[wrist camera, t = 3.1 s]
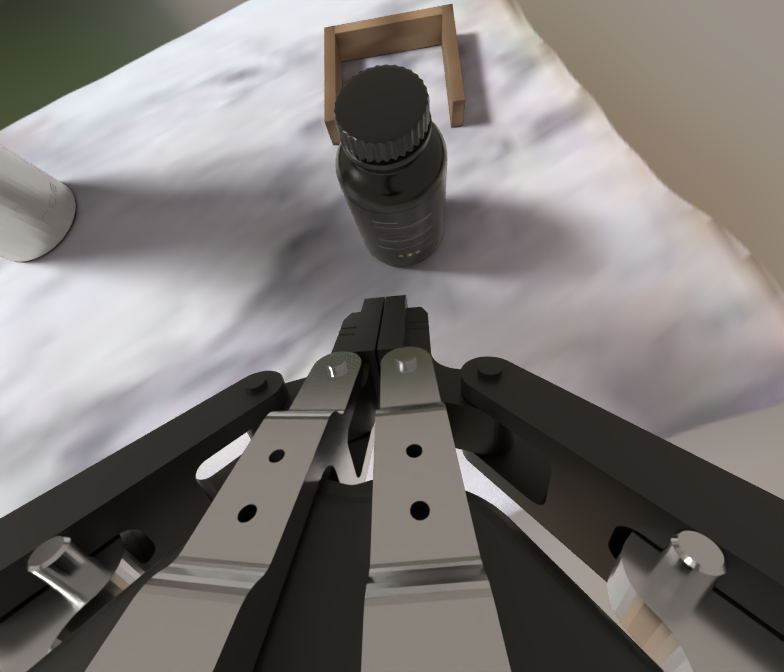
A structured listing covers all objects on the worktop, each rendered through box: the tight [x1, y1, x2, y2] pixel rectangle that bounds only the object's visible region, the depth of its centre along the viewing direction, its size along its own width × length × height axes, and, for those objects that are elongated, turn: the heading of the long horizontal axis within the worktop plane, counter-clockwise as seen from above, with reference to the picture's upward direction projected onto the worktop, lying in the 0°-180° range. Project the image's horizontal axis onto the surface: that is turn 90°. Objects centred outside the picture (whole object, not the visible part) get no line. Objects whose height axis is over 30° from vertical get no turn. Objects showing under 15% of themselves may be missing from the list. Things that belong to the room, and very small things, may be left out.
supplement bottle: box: [334, 65, 447, 266], centre depth 22 cm, size 7×7×12 cm
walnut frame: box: [324, 4, 465, 145], centre depth 30 cm, size 12×11×2 cm
